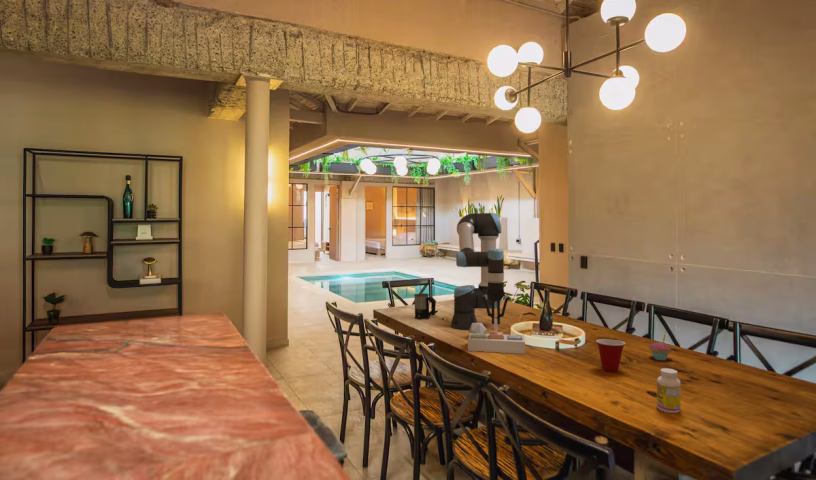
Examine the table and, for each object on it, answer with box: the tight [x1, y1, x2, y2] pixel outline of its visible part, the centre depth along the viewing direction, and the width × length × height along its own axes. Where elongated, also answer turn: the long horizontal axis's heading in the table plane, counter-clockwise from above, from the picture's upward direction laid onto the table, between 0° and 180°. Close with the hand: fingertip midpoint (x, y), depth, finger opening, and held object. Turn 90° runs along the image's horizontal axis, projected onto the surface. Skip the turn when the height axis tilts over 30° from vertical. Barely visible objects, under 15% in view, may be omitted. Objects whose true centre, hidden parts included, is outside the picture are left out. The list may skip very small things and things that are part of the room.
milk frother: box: [413, 293, 439, 320], centre depth 287 cm, size 14×16×15 cm
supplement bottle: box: [656, 367, 682, 414], centre depth 147 cm, size 7×7×13 cm
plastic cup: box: [595, 338, 626, 373], centre depth 185 cm, size 11×11×12 cm
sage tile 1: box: [472, 333, 486, 339], centre depth 219 cm, size 6×6×4 cm
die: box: [468, 322, 488, 334], centre depth 237 cm, size 8×9×10 cm
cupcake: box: [648, 331, 672, 361], centre depth 199 cm, size 9×8×12 cm
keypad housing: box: [467, 333, 526, 355], centre depth 217 cm, size 12×26×6 cm, turn 78°
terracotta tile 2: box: [489, 330, 504, 340], centre depth 217 cm, size 6×6×4 cm
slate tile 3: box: [507, 334, 522, 340], centre depth 215 cm, size 6×6×4 cm
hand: (495, 331), depth 216 cm, fingers closed
